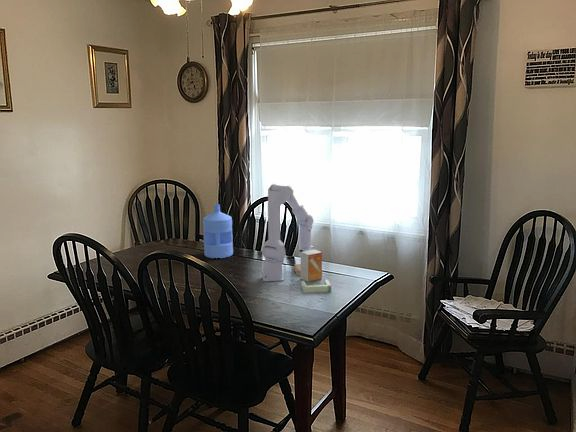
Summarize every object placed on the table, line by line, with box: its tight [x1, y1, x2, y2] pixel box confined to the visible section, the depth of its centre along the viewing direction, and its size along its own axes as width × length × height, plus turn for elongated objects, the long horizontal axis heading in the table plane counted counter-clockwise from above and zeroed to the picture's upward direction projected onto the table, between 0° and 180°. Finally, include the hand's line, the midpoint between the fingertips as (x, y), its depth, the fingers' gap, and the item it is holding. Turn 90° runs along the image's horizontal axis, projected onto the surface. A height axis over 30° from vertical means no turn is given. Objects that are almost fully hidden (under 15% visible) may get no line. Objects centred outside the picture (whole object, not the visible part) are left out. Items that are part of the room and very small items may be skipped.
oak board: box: [294, 263, 301, 277], centre depth 238 cm, size 12×10×3 cm
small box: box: [300, 248, 323, 282], centre depth 227 cm, size 8×6×13 cm
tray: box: [300, 279, 332, 294], centre depth 215 cm, size 12×8×2 cm, turn 96°
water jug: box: [202, 203, 234, 260], centre depth 265 cm, size 16×16×28 cm
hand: (305, 264), depth 247 cm, fingers closed
